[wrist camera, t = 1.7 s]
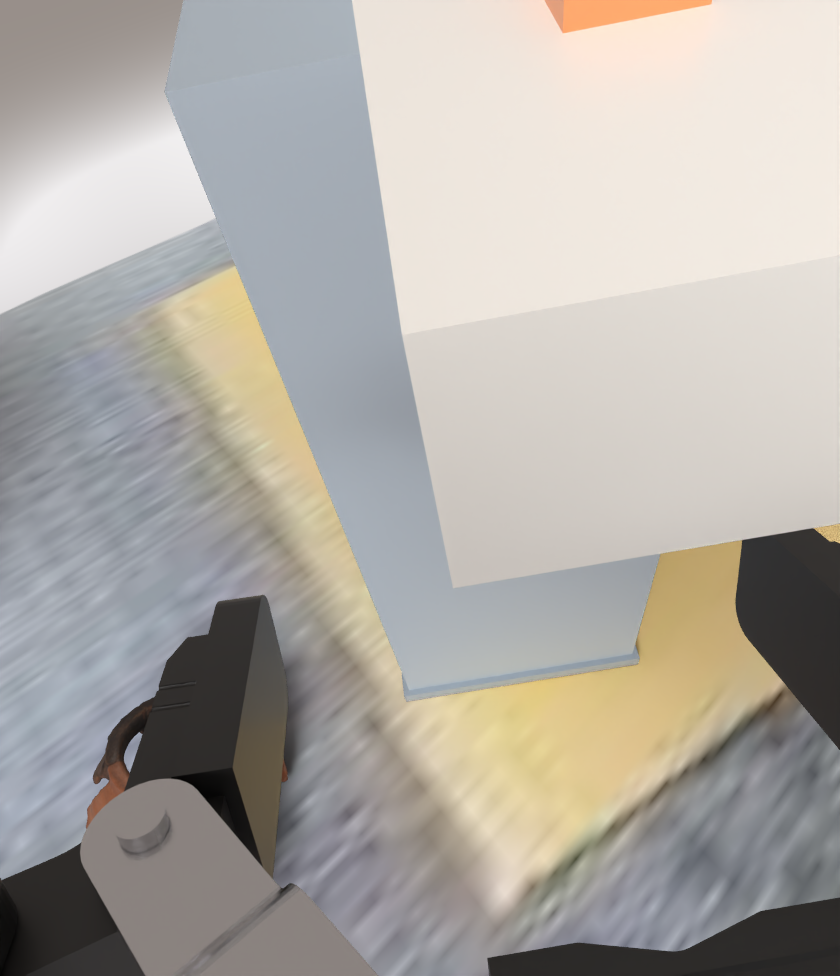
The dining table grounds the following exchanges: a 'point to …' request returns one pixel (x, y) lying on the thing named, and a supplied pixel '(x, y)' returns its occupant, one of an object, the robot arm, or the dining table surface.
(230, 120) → the post
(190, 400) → the dining table surface
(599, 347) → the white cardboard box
